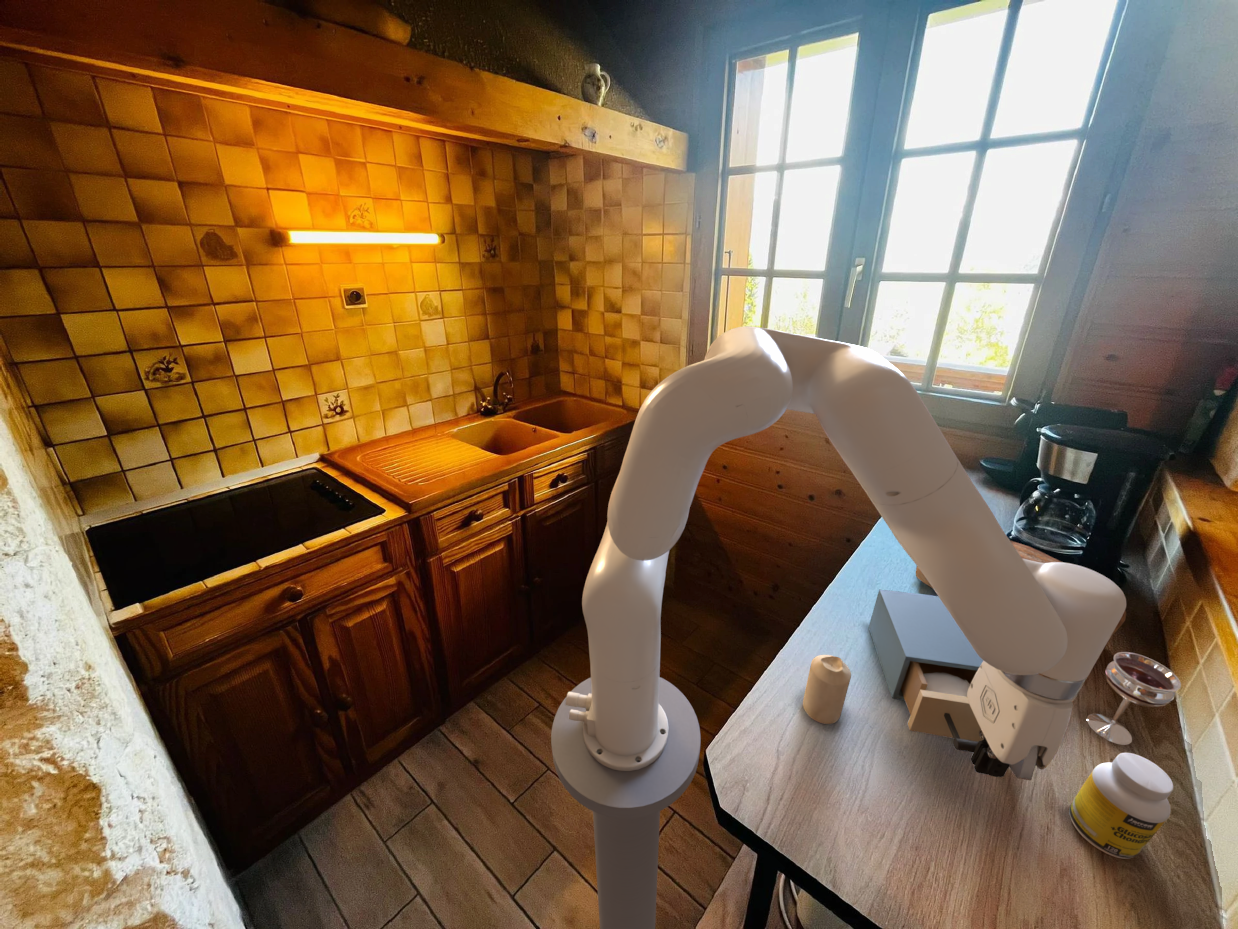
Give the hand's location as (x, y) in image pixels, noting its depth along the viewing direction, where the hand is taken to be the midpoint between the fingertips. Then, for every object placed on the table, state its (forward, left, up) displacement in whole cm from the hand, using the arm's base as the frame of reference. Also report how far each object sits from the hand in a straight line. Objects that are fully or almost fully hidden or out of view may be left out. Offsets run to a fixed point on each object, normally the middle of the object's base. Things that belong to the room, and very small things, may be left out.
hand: (986, 768), depth 63 cm
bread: (+19, +39, -5) cm, 44 cm away
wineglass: (+23, +14, -5) cm, 27 cm away
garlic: (0, +12, -3) cm, 13 cm away
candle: (-18, +9, -5) cm, 21 cm away
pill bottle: (+13, -2, -5) cm, 14 cm away
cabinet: (0, +21, -5) cm, 21 cm away
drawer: (0, +11, -4) cm, 12 cm away
